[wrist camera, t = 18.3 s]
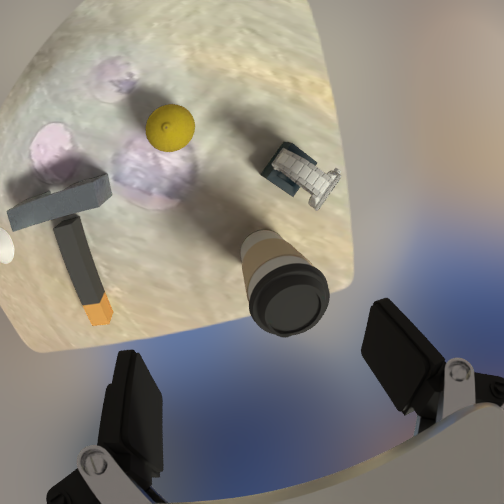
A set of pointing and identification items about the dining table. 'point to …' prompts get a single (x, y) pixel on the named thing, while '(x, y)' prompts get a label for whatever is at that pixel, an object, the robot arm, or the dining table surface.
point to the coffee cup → (282, 285)
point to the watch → (300, 174)
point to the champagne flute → (6, 247)
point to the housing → (60, 203)
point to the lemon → (170, 128)
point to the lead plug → (83, 271)
